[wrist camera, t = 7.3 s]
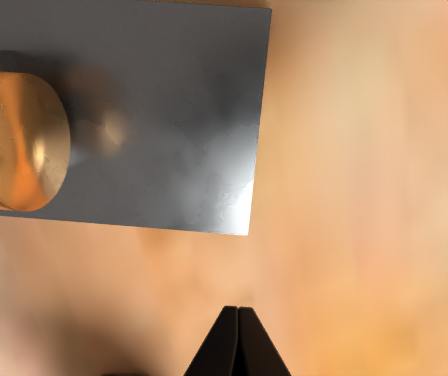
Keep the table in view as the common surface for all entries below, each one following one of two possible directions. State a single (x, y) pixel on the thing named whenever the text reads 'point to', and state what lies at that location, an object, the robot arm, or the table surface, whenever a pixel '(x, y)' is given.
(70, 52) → the bearing frame
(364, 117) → the table surface
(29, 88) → the shaft
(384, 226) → the table surface
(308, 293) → the table surface
